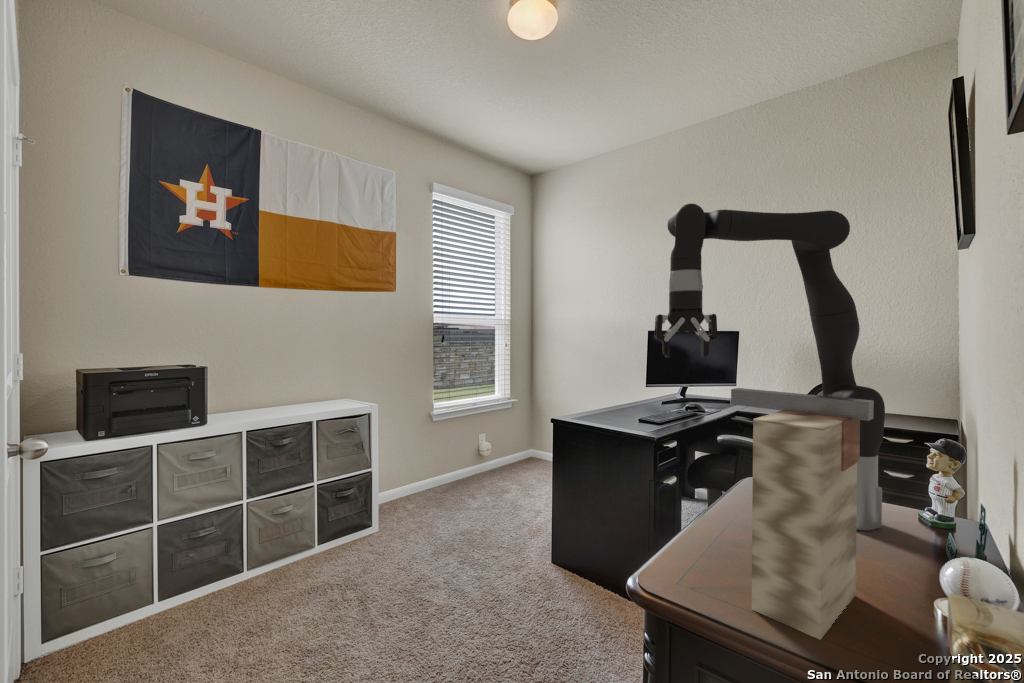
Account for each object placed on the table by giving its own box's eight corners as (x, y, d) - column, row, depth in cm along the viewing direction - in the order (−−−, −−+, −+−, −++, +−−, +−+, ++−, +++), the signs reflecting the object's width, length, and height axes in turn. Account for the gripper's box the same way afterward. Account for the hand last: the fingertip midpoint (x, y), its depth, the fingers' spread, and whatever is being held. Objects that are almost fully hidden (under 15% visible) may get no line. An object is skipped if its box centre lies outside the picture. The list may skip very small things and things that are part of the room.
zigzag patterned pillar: (751, 609, 77) (753, 418, 76) (792, 572, 89) (794, 406, 88) (822, 641, 69) (825, 428, 68) (857, 596, 81) (860, 414, 80)
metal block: (731, 404, 91) (731, 389, 91) (737, 402, 93) (738, 387, 93) (868, 420, 74) (868, 402, 74) (873, 418, 76) (873, 400, 76)
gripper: (710, 291, 115) (710, 356, 115) (652, 291, 116) (651, 356, 116) (721, 288, 107) (721, 358, 108) (658, 289, 108) (658, 358, 109)
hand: (685, 357), depth 112 cm, fingers open, 8 cm apart
